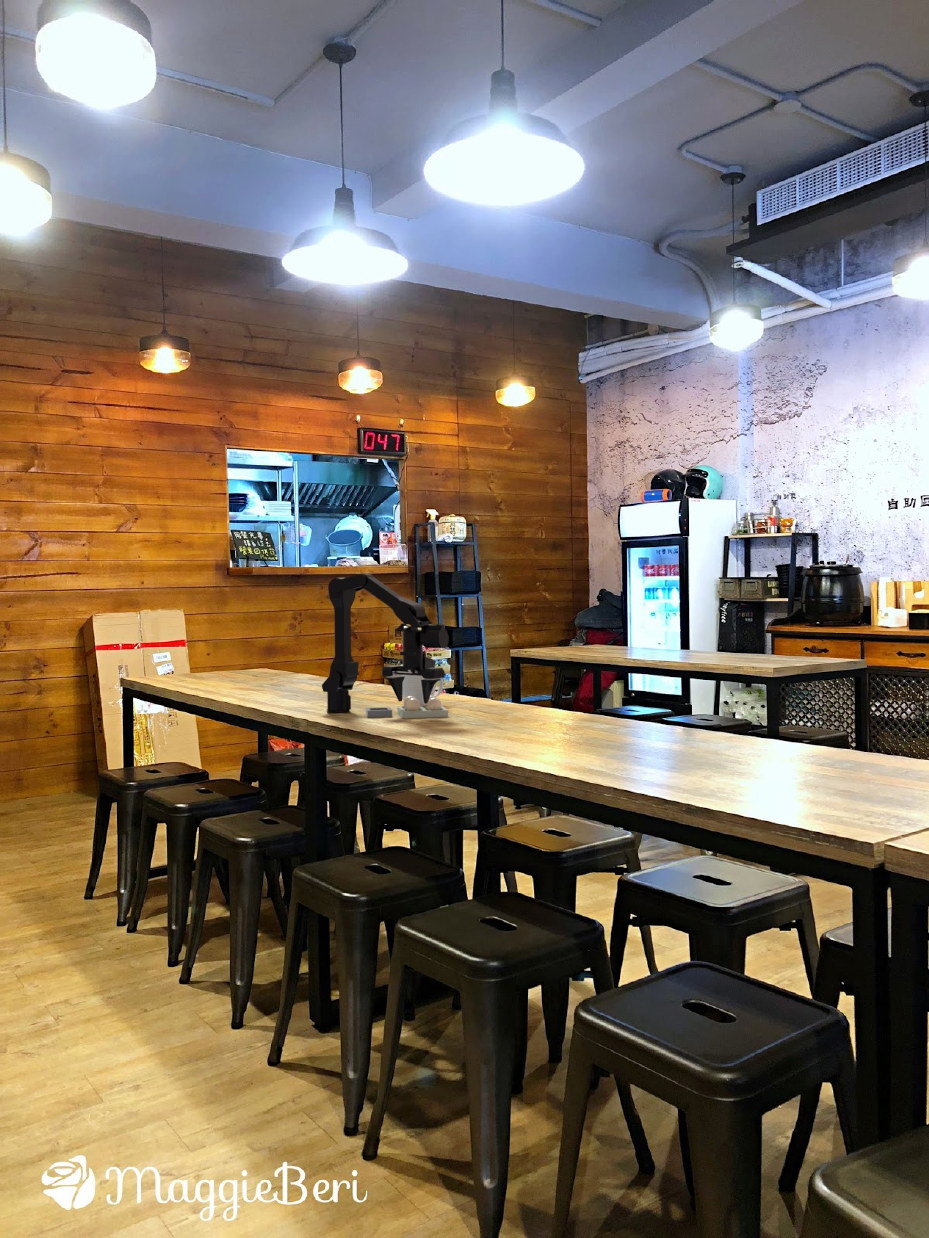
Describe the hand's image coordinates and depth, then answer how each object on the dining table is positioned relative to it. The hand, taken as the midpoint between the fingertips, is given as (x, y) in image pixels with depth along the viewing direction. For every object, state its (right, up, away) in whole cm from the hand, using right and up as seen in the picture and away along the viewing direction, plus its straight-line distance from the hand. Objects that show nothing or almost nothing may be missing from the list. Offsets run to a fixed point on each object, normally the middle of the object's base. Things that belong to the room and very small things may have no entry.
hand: (413, 702), depth 271 cm
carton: (+2, -4, +4) cm, 6 cm away
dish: (-10, -4, +2) cm, 11 cm away
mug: (+1, -4, +24) cm, 24 cm away
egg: (0, -1, 0) cm, 1 cm away
